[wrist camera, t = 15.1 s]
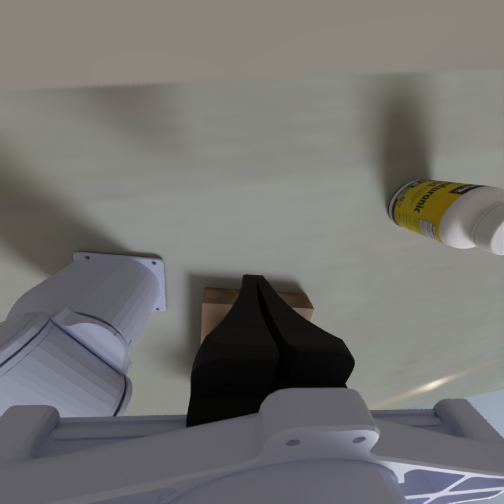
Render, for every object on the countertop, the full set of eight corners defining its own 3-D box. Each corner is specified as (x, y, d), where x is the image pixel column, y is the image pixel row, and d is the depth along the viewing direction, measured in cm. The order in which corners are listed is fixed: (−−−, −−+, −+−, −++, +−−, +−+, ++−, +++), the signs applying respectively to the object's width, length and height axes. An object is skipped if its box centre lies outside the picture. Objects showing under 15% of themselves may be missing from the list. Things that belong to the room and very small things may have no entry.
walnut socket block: (202, 357, 31) (199, 376, 28) (205, 287, 25) (202, 303, 22) (284, 358, 33) (289, 376, 30) (306, 294, 27) (314, 308, 24)
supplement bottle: (425, 167, 21) (565, 174, 12) (437, 206, 23) (563, 235, 14) (379, 200, 22) (476, 227, 13) (395, 233, 24) (487, 276, 15)
